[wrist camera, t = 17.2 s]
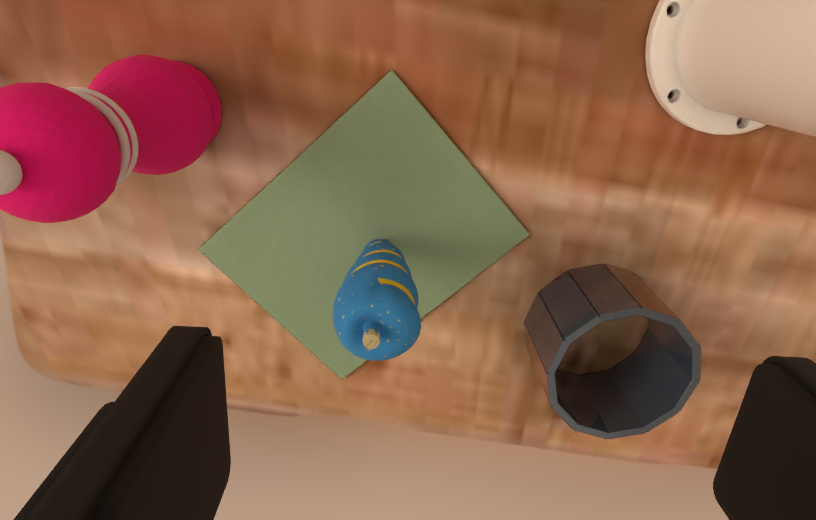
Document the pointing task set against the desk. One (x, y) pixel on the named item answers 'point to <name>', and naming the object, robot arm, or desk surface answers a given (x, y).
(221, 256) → the mat
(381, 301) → the ornament
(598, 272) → the crock
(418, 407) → the desk surface
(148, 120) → the pepper mill
